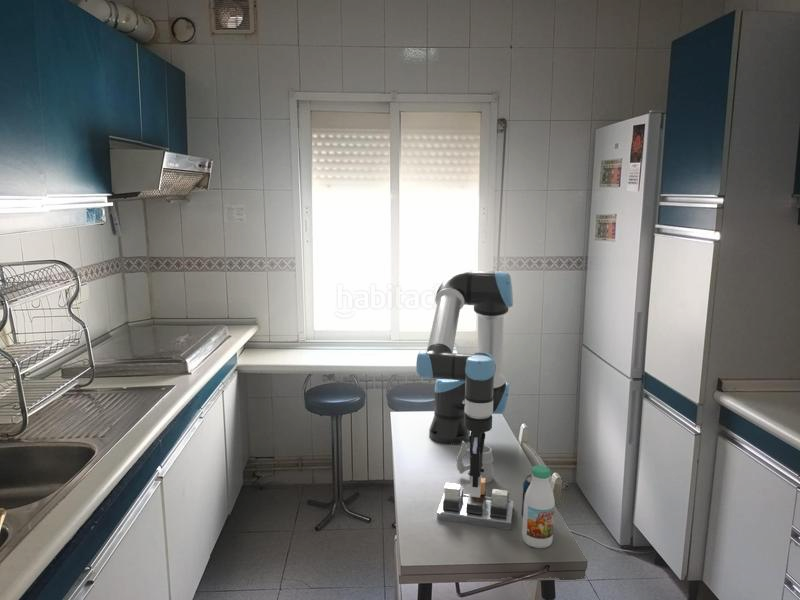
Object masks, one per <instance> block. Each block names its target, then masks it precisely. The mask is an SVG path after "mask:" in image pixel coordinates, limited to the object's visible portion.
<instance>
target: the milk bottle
mask: <svg viewBox="0 0 800 600" xmlns="http://www.w3.org/2000/svg"><path fill="white" fill-rule="evenodd" d="M531 475H532V481H531V484H530V485H529V487H528V489H527V491H526V494H525V498H524V511H523V517H522V529H521V530H522V531H521V532H522V534H521V538H522V540H523V542H524V543H525V544H526V545H528V546H530V547H532V548H535V549H546V548H548V547H550V546H551V545H552V544H553V539H554V525H555V524H554V523H555V506H556V505H555V503H556V501H555V495H554V492H553V489H552V486H551V484H550V479H551V469H550V468H549V467H548V466H546V465H542V464H541V465H540V464H537V465H534V466H532V468H531Z"/></svg>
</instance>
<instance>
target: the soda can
mask: <svg viewBox="0 0 800 600" xmlns="http://www.w3.org/2000/svg"><path fill="white" fill-rule="evenodd" d="M531 481H532V474H528V475H526V477H525V480H524V481H523V483H522V498H521V501H522V502H521V516H522V518H523V511H524V498H525V494H526V491H527V489H528V487H529V485H530V484H531Z"/></svg>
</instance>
